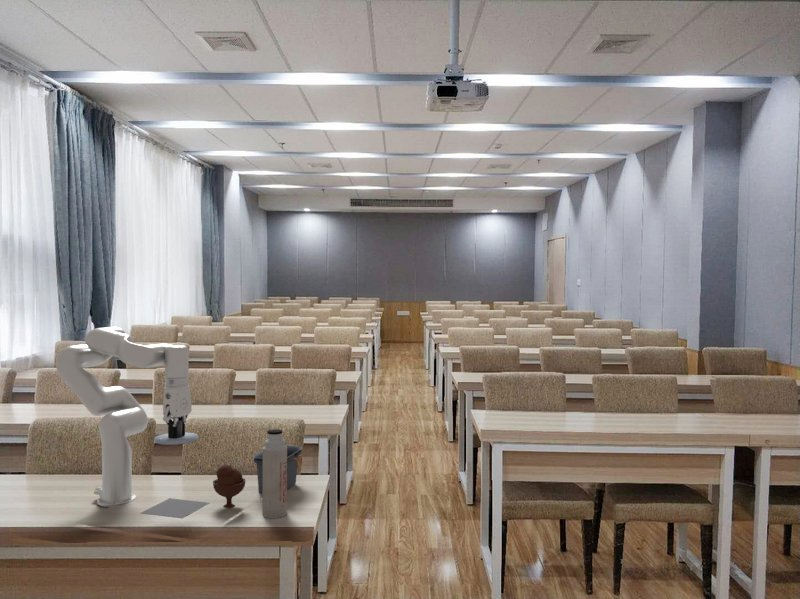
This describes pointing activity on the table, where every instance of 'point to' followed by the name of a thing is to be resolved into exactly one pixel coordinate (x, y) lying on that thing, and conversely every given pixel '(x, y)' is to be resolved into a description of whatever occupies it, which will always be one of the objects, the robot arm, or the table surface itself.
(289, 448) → the storage bin
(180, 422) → the lid
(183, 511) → the mat
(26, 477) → the table surface
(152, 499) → the table surface
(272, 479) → the thermos bottle
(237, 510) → the table surface
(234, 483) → the ice cream bowl
